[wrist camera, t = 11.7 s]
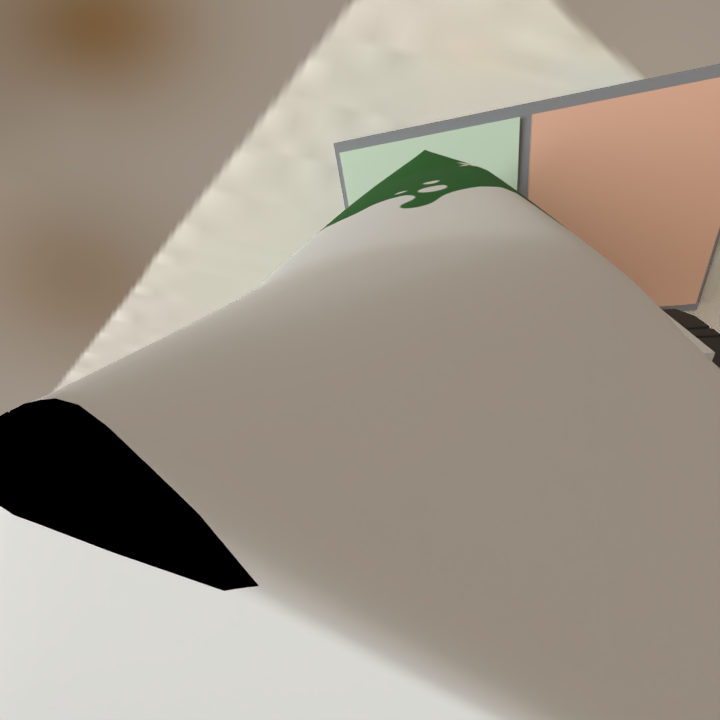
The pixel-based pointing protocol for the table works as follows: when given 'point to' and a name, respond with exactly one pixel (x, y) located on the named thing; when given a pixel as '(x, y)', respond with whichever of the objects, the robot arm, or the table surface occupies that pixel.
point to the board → (593, 171)
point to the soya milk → (384, 489)
